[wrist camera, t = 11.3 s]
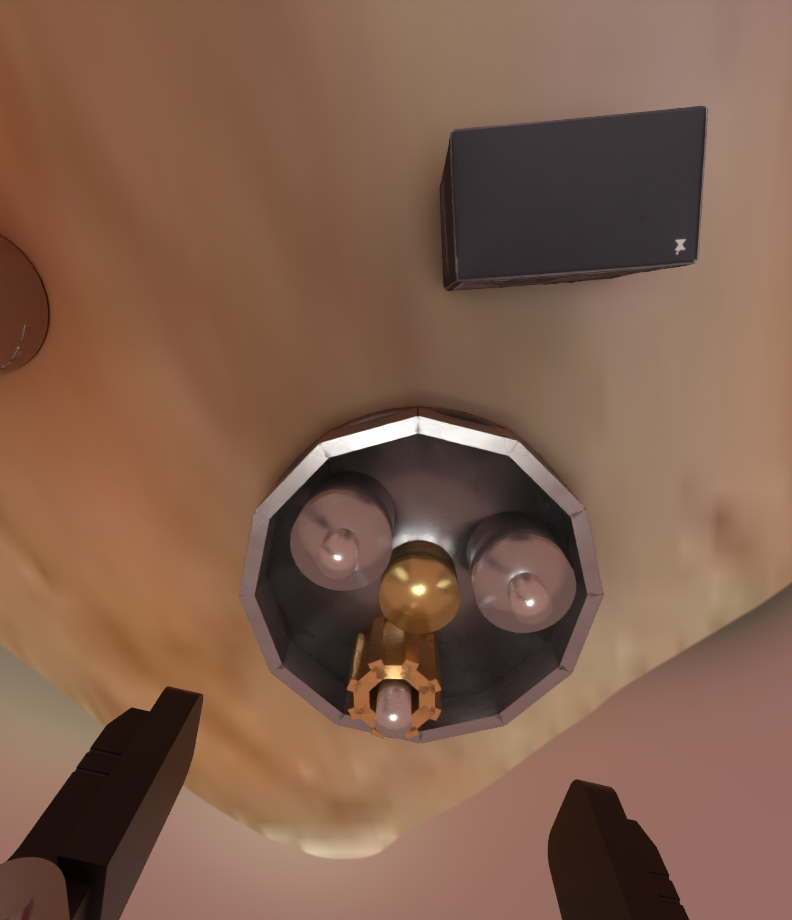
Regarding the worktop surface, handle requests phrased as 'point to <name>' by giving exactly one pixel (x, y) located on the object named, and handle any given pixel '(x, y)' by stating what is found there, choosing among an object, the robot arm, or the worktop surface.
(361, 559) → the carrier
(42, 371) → the worktop surface
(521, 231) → the small box
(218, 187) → the worktop surface
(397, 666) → the planet gear
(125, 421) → the worktop surface
